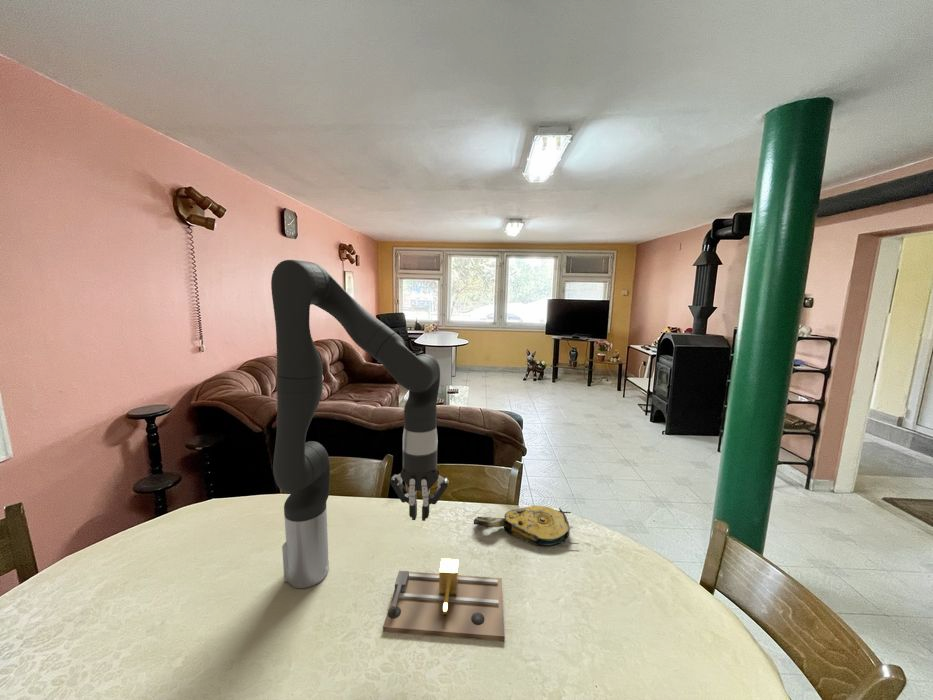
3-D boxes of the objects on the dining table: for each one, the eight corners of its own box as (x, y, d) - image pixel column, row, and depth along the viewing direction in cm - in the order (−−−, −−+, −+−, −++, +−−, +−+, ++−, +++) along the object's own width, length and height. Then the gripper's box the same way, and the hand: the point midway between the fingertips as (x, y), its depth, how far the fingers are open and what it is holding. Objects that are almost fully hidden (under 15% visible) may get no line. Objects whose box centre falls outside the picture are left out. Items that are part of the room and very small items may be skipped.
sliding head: (435, 617, 76) (435, 592, 75) (441, 581, 86) (441, 558, 85) (454, 619, 76) (454, 594, 75) (457, 582, 86) (458, 559, 85)
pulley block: (475, 495, 114) (571, 501, 112) (474, 510, 116) (569, 517, 114) (472, 530, 100) (581, 538, 98) (471, 546, 102) (578, 554, 100)
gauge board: (383, 631, 74) (382, 617, 74) (400, 575, 89) (400, 562, 88) (504, 641, 73) (505, 626, 72) (501, 582, 88) (502, 569, 87)
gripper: (384, 452, 75) (384, 527, 78) (449, 455, 74) (447, 531, 77) (393, 437, 82) (393, 506, 85) (452, 440, 82) (451, 510, 85)
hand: (419, 518), depth 81 cm, fingers closed
